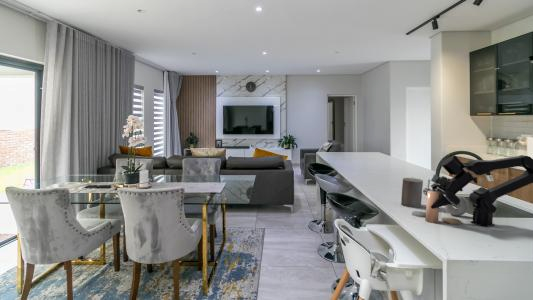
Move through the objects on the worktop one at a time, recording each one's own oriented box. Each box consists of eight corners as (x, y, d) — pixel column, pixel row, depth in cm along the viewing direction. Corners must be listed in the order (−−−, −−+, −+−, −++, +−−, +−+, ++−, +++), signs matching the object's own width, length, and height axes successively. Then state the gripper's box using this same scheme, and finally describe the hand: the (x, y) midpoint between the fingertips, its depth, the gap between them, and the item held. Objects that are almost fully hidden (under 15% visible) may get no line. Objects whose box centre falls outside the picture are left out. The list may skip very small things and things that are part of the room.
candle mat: (433, 216, 151) (433, 215, 151) (420, 217, 148) (421, 216, 148) (420, 211, 158) (420, 210, 158) (408, 213, 155) (408, 212, 155)
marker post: (440, 222, 142) (442, 193, 141) (432, 223, 140) (434, 193, 139) (431, 218, 147) (433, 190, 145) (422, 220, 145) (424, 191, 144)
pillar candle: (397, 204, 171) (399, 176, 169) (406, 201, 177) (408, 174, 175) (415, 209, 163) (417, 179, 162) (424, 205, 170) (426, 177, 168)
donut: (443, 215, 153) (445, 194, 152) (443, 213, 156) (444, 192, 155) (468, 217, 149) (470, 196, 148) (467, 215, 152) (468, 194, 151)
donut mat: (465, 223, 141) (465, 221, 141) (452, 224, 139) (452, 223, 139) (449, 218, 148) (450, 216, 148) (437, 219, 146) (437, 218, 146)
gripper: (436, 165, 150) (410, 188, 153) (453, 172, 132) (423, 197, 134) (454, 183, 149) (427, 205, 152) (473, 192, 131) (442, 217, 134)
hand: (429, 206), depth 143 cm, fingers closed on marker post, 5 cm apart
